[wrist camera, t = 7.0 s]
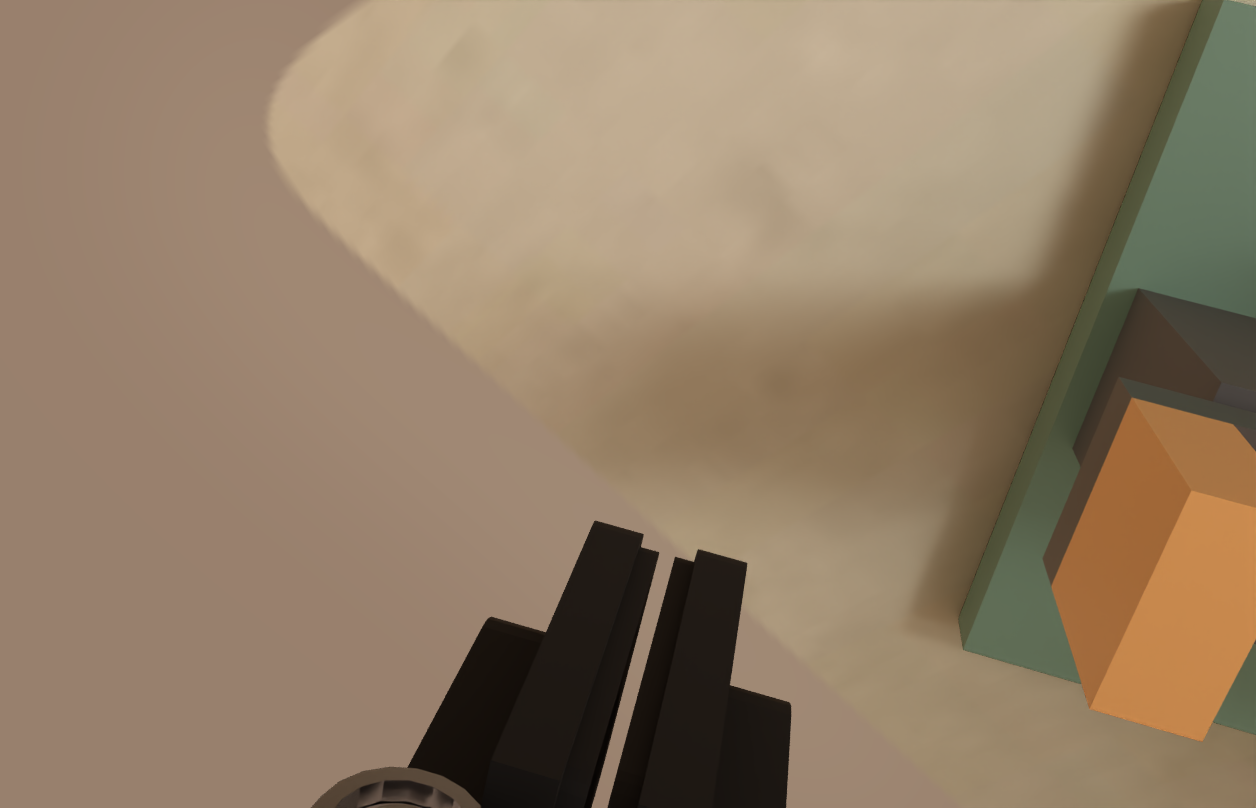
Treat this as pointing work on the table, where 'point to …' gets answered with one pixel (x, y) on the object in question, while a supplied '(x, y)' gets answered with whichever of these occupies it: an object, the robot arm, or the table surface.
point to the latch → (1160, 558)
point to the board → (1160, 250)
